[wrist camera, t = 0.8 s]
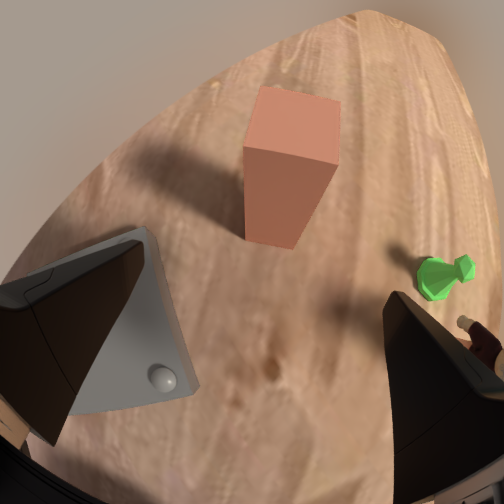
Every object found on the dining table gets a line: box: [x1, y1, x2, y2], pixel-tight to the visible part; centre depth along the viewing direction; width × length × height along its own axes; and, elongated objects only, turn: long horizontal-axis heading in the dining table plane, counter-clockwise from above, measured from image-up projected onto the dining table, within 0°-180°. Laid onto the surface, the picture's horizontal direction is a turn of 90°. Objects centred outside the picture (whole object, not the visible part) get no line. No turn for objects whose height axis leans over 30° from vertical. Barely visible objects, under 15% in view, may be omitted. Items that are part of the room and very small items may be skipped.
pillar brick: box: [243, 86, 341, 250], centre depth 18 cm, size 4×4×13 cm
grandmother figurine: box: [455, 315, 504, 381], centre depth 15 cm, size 8×4×13 cm, turn 31°
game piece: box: [417, 254, 475, 301], centre depth 20 cm, size 4×4×6 cm
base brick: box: [27, 226, 200, 415], centre depth 20 cm, size 13×13×4 cm
